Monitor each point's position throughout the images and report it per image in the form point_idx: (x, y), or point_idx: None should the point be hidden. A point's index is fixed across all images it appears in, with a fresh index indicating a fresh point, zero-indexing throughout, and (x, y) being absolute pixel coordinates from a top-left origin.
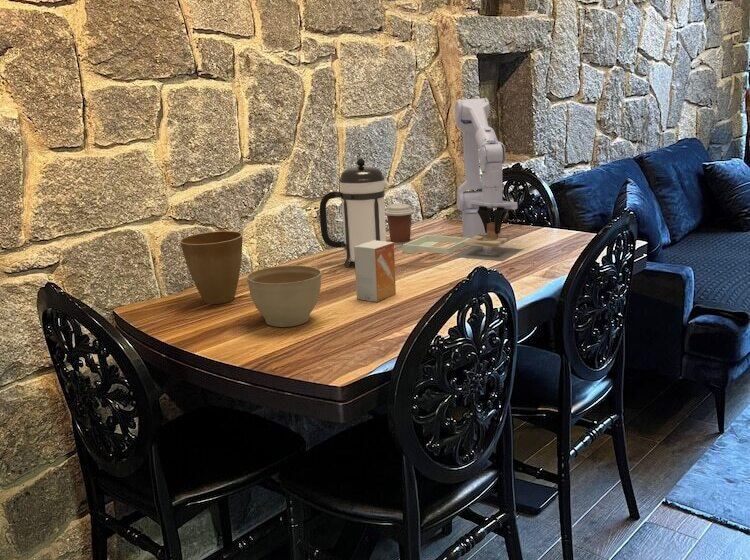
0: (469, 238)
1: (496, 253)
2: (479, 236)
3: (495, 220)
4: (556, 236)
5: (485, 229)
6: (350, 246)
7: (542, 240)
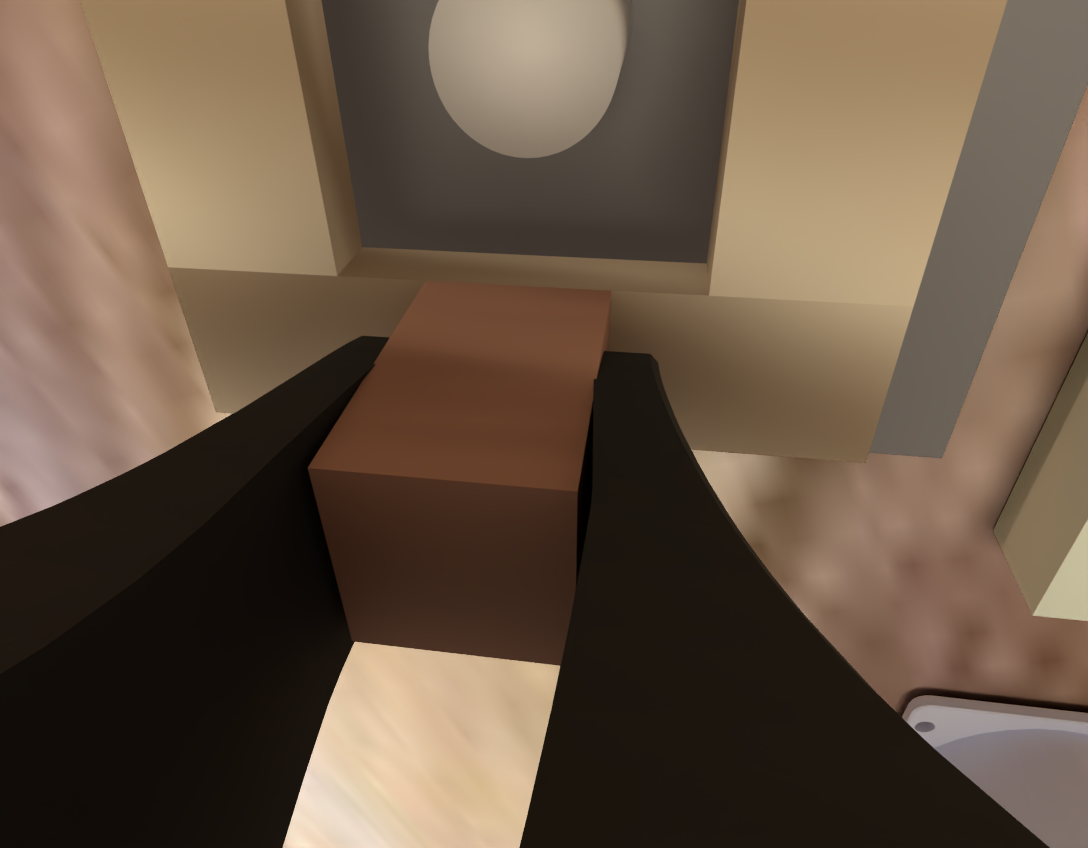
0: (1057, 593)
1: (385, 20)
2: (796, 291)
3: (185, 510)
4: (351, 844)
5: (636, 382)
6: None
7: (372, 764)
